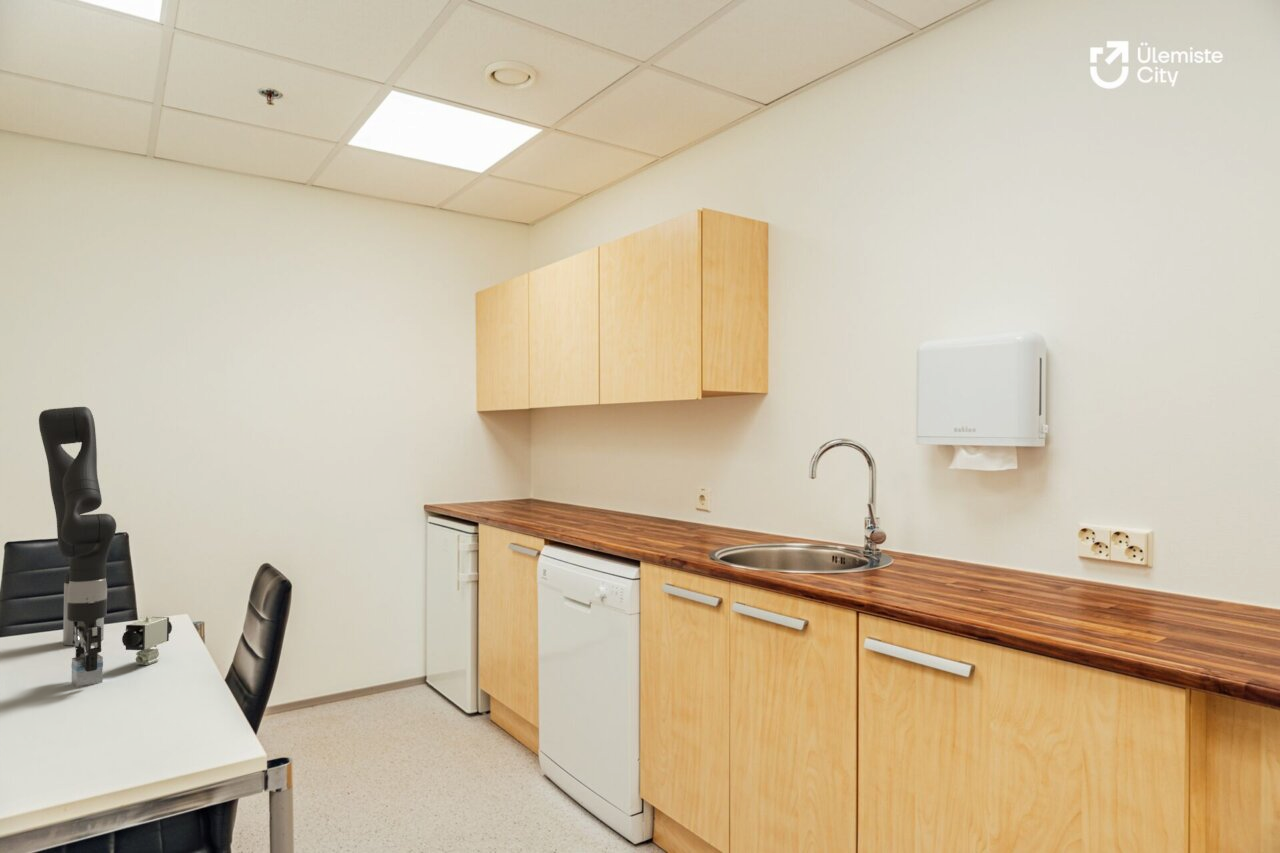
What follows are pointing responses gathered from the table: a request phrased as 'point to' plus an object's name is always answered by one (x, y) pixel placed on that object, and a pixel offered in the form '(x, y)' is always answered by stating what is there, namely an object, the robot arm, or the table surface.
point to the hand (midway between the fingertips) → (86, 667)
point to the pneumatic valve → (147, 638)
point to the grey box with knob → (84, 677)
